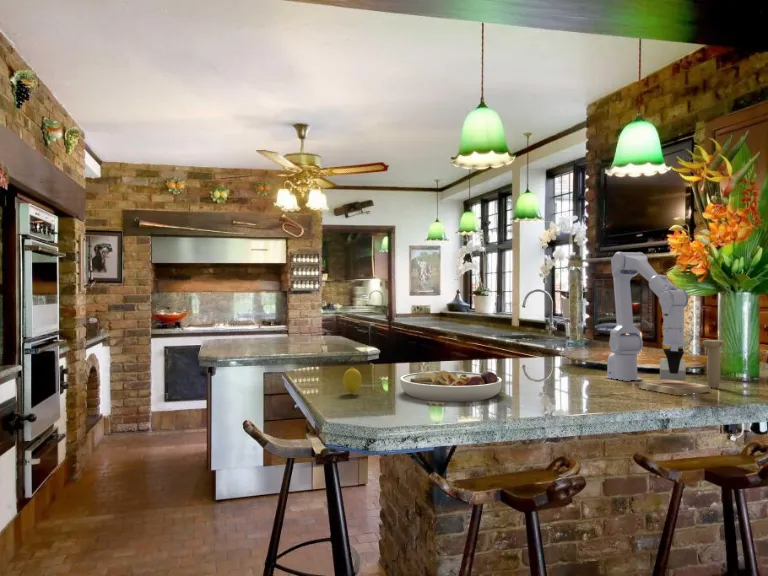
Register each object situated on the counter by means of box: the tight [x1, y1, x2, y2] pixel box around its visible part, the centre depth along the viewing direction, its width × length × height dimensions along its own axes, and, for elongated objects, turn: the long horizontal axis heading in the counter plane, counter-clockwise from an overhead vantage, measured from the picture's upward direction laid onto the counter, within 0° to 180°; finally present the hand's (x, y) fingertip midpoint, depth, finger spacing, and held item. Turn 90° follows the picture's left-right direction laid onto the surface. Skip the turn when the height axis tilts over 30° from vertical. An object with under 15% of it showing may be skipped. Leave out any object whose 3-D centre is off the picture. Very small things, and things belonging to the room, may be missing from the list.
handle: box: [702, 339, 725, 389], centre depth 193 cm, size 5×6×15 cm
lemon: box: [342, 367, 363, 395], centre depth 181 cm, size 6×6×8 cm
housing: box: [659, 357, 687, 382], centre depth 188 cm, size 4×7×6 cm, turn 66°
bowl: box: [399, 369, 503, 403], centre depth 182 cm, size 30×30×8 cm
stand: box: [638, 379, 710, 396], centre depth 188 cm, size 14×14×2 cm
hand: (673, 372), depth 188 cm, fingers closed on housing, 4 cm apart
